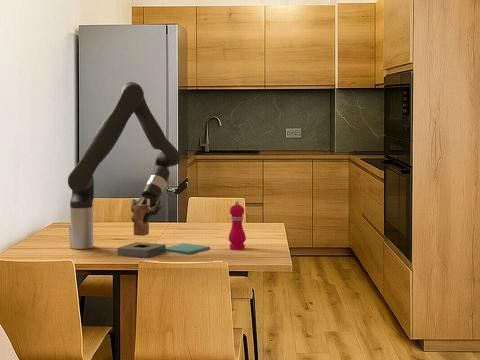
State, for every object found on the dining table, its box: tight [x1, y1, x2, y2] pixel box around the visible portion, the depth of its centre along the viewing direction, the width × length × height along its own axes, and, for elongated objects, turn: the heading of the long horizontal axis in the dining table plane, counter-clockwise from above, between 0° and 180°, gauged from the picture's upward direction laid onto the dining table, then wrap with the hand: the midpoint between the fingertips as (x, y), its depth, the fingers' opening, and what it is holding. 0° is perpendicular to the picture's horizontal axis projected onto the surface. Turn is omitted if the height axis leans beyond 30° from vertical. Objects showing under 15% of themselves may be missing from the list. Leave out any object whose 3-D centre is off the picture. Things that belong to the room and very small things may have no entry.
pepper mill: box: [228, 200, 247, 251], centre depth 319 cm, size 7×7×20 cm
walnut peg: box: [133, 203, 150, 237], centre depth 309 cm, size 4×4×12 cm
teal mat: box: [166, 242, 211, 255], centre depth 318 cm, size 14×14×1 cm
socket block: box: [117, 241, 167, 259], centre depth 310 cm, size 14×14×3 cm
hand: (138, 221), depth 308 cm, fingers closed on walnut peg, 4 cm apart
